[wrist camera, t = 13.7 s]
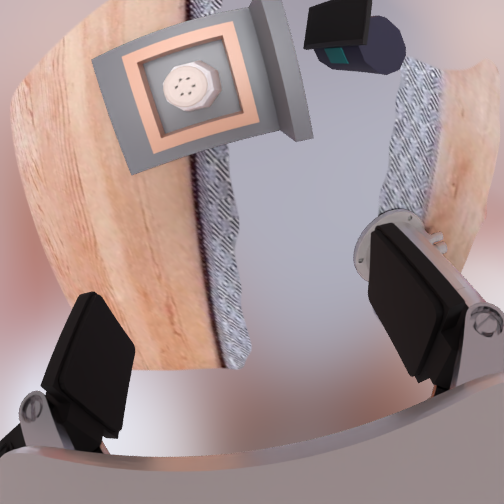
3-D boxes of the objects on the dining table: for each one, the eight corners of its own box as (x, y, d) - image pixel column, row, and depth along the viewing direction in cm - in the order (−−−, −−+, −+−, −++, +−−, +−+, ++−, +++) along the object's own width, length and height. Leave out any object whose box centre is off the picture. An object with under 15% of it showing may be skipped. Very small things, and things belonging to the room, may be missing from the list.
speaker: (285, 44, 23) (336, 32, 15) (309, 6, 21) (365, -15, 13) (341, 81, 27) (403, 89, 18) (362, 44, 24) (426, 43, 16)
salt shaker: (233, 91, 25) (245, 95, 16) (187, 121, 26) (174, 143, 17) (202, 50, 22) (197, 30, 13) (156, 81, 23) (126, 82, 14)
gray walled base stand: (262, 7, 21) (277, -13, 15) (292, 125, 29) (313, 138, 23) (94, 60, 21) (65, 57, 16) (133, 172, 29) (116, 196, 23)
